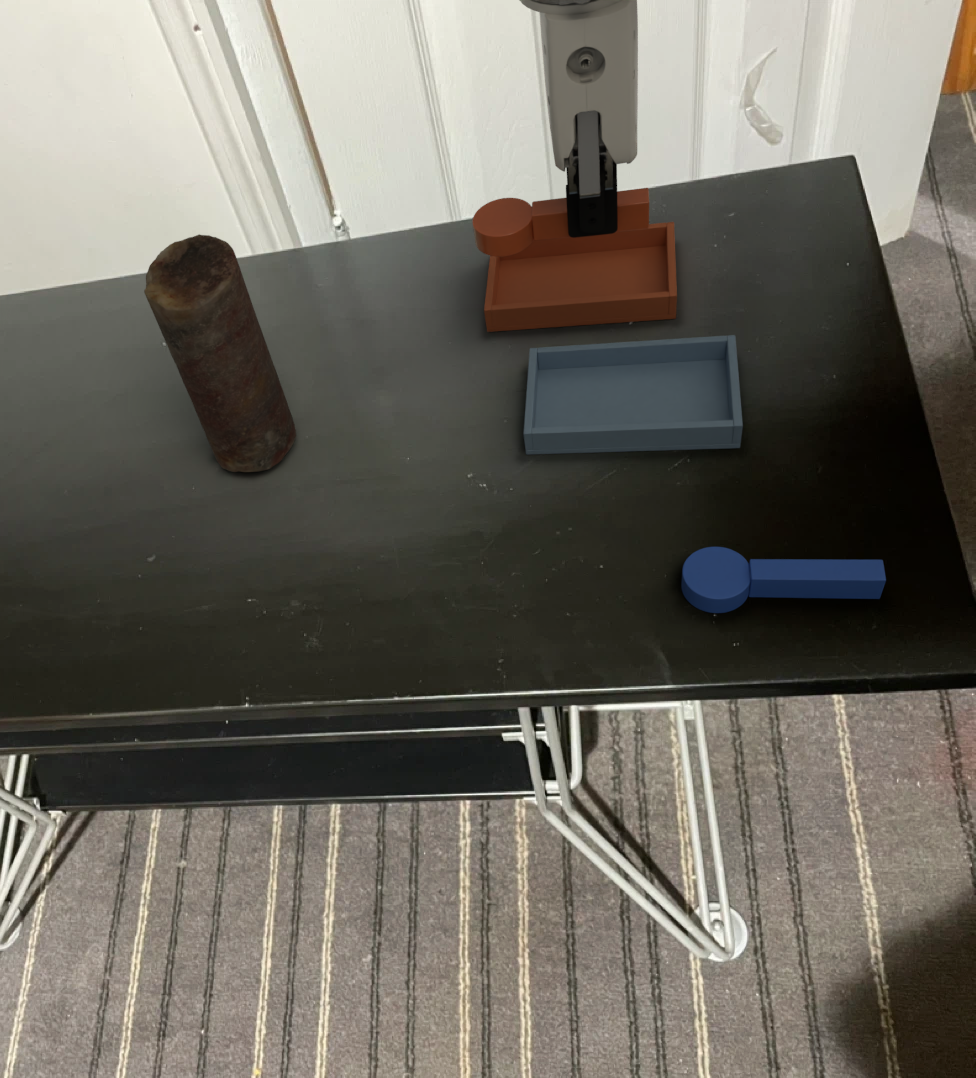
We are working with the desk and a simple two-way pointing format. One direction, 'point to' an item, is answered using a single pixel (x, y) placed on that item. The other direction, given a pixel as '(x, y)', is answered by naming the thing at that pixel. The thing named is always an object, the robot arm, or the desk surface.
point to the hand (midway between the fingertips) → (592, 220)
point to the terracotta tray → (584, 281)
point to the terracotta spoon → (544, 221)
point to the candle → (220, 352)
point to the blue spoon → (774, 579)
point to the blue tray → (634, 396)
